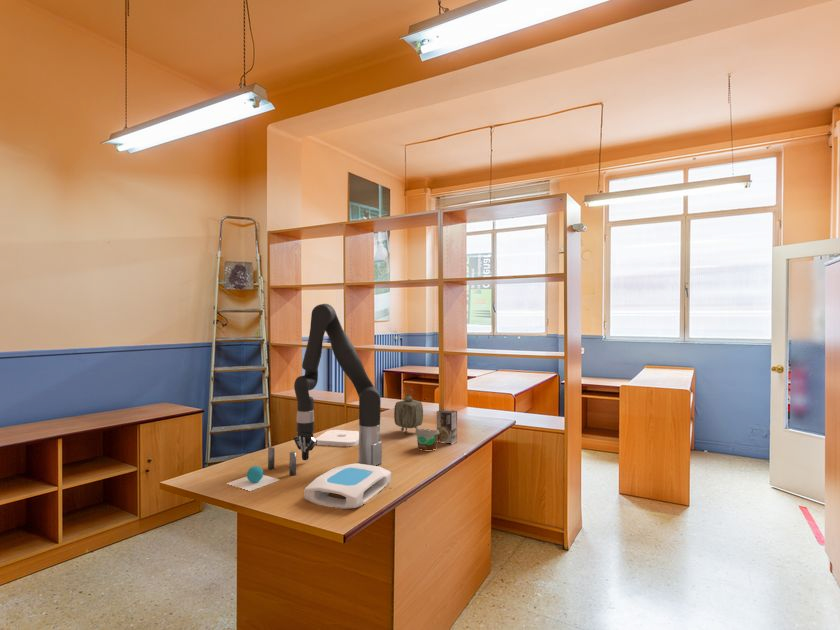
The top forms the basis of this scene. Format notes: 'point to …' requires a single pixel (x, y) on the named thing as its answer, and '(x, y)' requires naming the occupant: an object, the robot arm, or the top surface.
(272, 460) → the post
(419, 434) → the food container
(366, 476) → the step platform
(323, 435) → the computer
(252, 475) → the ball
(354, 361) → the robot arm
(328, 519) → the top surface
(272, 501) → the top surface
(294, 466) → the post
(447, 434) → the coffee box
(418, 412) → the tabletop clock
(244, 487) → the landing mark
